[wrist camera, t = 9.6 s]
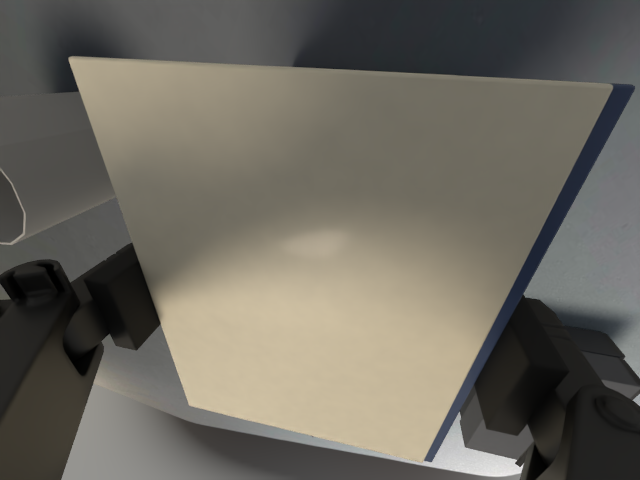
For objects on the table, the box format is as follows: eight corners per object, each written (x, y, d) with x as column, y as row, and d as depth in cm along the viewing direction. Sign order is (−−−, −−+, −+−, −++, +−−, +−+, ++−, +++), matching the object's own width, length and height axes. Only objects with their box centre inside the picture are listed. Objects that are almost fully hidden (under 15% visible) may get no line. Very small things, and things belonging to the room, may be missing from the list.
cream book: (559, 80, 6) (644, 85, 4) (424, 402, 13) (432, 466, 11) (150, 59, 8) (65, 55, 6) (217, 358, 15) (188, 406, 13)
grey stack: (606, 332, 24) (652, 388, 20) (537, 415, 31) (561, 470, 27) (497, 314, 25) (518, 362, 21) (454, 398, 32) (464, 447, 28)
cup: (86, 189, 28) (-46, 240, 19) (40, 94, 24) (-154, 106, 15) (161, 190, 26) (52, 247, 18) (125, 88, 22) (-40, 99, 13)
